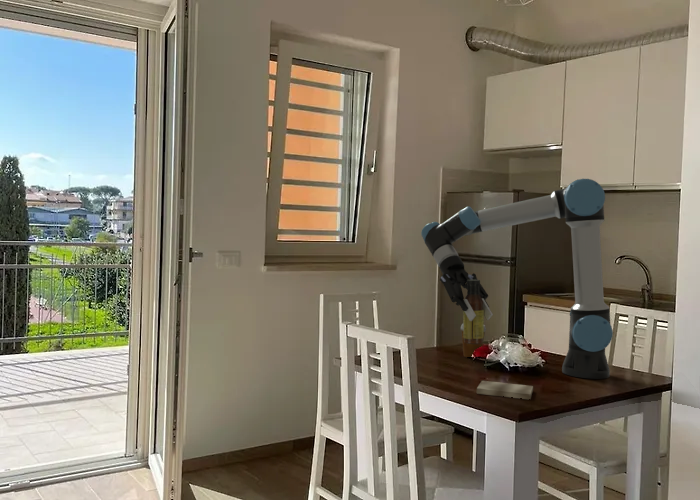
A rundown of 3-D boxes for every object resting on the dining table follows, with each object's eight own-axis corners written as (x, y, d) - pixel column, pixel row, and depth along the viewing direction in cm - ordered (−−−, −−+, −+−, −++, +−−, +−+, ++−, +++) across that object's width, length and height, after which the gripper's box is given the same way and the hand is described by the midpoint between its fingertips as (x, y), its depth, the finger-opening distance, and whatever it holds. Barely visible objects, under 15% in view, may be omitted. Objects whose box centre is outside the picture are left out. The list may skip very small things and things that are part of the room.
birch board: (532, 391, 197) (533, 386, 197) (530, 399, 187) (530, 394, 187) (481, 385, 202) (482, 380, 202) (476, 393, 192) (476, 388, 192)
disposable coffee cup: (487, 359, 244) (488, 327, 244) (461, 358, 244) (462, 326, 244) (482, 354, 254) (483, 323, 253) (457, 353, 254) (458, 322, 254)
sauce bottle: (484, 342, 210) (487, 279, 209) (481, 345, 204) (484, 280, 203) (463, 340, 212) (466, 278, 212) (460, 343, 206) (463, 279, 206)
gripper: (465, 269, 225) (498, 323, 212) (420, 269, 216) (451, 326, 202) (477, 254, 221) (510, 309, 207) (431, 254, 211) (463, 311, 197)
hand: (481, 317), depth 205 cm, fingers closed on sauce bottle, 6 cm apart
